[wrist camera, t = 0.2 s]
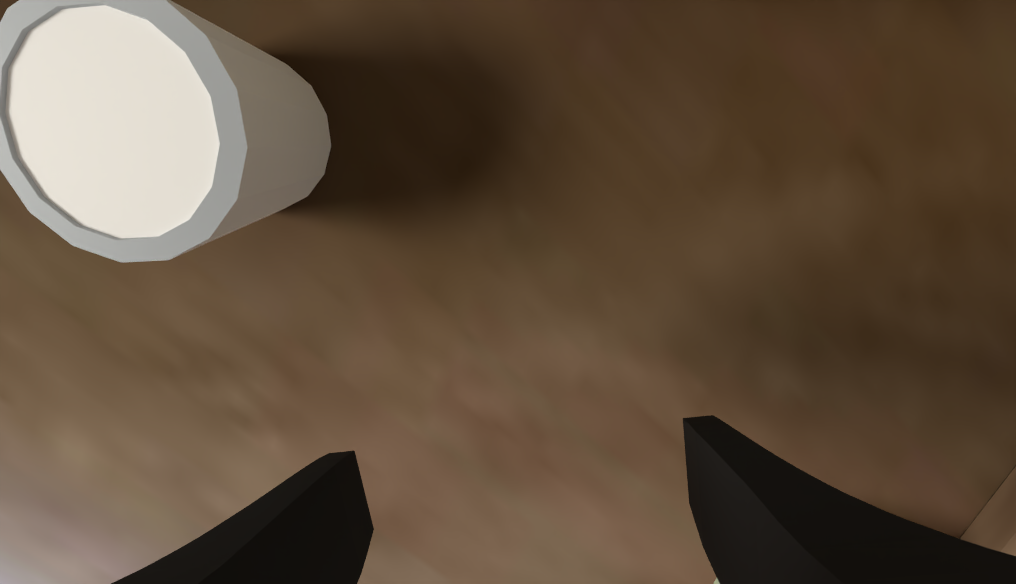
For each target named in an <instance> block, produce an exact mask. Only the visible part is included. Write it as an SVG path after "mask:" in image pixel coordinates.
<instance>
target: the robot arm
mask: <svg viewBox="0 0 1016 584" xmlns="http://www.w3.org/2000/svg"><path fill="white" fill-rule="evenodd" d="M683 427H684V440H685V453H686V466H687V479H688V492H689V504H690V507H691V510H692V513H693V517H694V520H695V523H696V526H697V529H698V532H699V536H700V539H701V542H702V545H703V548H704V550H705V552H706V554H707V557H708V559H709V561H710V563H711V566H712V568H713V570H714V572H715V574H716V577H717V579H718V581H719V583H720V584H1016V556H1013V555H1010V554H1007V553H1003V552H1000V551H996V550H993V549H989V548H986V547H983V546H980V545H977V544H974V543H971V542H968V541H965V540H961V539H958V538H955V537H952V536H950V535H947V534H944V533H941V532H939V531H936V530H933V529H930V528H928V527H925V526H922V525H919V524H917V523H914V522H911V521H909V520H906V519H903V518H901V517H899V516H896V515H894V514H891V513H889V512H886V511H884V510H881V509H879V508H877V507H875V506H873V505H870V504H868V503H866V502H864V501H861V500H859V499H857V498H855V497H852V496H850V495H848V494H846V493H844V492H842V491H840V490H838V489H836V488H834V487H832V486H830V485H828V484H826V483H824V482H822V481H820V480H818V479H817V478H815V477H813V476H811V475H809V474H807V473H805V472H804V471H802V470H800V469H798V468H796V467H795V466H793V465H791V464H790V463H788V462H786V461H784V460H783V459H781V458H779V457H778V456H776V455H774V454H773V453H771V452H770V451H768V450H766V449H765V448H763V447H762V446H760V445H758V444H757V443H755V442H754V441H752V440H751V439H749V438H748V437H746V436H745V435H743V434H741V433H740V432H738V431H737V430H735V429H734V428H732V427H731V426H729V425H728V424H726V423H725V422H723V421H722V420H720V419H718V418H717V417H715V416H713V415H711V416H701V417H691V418H683ZM373 530H374V528H373V524H372V520H371V516H370V512H369V508H368V504H367V500H366V496H365V492H364V488H363V484H362V480H361V476H360V472H359V467H358V463H357V459H356V455H355V451H347V452H337V453H328V454H326V455H325V456H323V457H321V458H319V459H317V460H316V461H314V462H312V463H311V464H309V465H308V466H306V467H305V468H303V469H302V470H300V471H299V472H297V473H296V474H294V475H293V476H291V477H290V478H288V479H287V480H285V481H284V482H282V483H281V484H280V485H278V486H277V487H275V488H274V489H272V490H271V491H269V492H268V493H266V494H265V495H263V496H262V497H261V498H259V499H258V500H256V501H255V502H253V503H252V504H250V505H249V506H247V507H246V508H244V509H243V510H241V511H239V512H238V513H236V514H235V515H233V516H232V517H230V518H229V519H227V520H225V521H224V522H222V523H221V524H219V525H218V526H216V527H214V528H213V529H211V530H210V531H208V532H207V533H205V534H203V535H202V536H200V537H198V538H197V539H195V540H193V541H192V542H190V543H188V544H187V545H185V546H183V547H181V548H180V549H178V550H176V551H174V552H172V553H171V554H169V555H167V556H165V557H163V558H161V559H160V560H158V561H156V562H154V563H152V564H150V565H148V566H146V567H145V568H143V569H141V570H139V571H137V572H135V573H132V574H130V575H128V576H126V577H124V578H122V579H120V580H118V581H116V582H114V583H112V584H357V582H358V580H359V577H360V575H361V572H362V569H363V566H364V562H365V559H366V556H367V552H368V549H369V545H370V541H371V537H372V533H373Z"/></svg>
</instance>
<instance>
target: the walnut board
mask: <svg viewBox="0 0 1016 584" xmlns="http://www.w3.org/2000/svg"><path fill="white" fill-rule="evenodd" d="M960 539H961V540H965V541H968V542H971V543H974V544H977V545H980V546H983V547H986V548H989V549H993V550H996V551H1000V552H1003V553H1007V554H1010V555H1013V556H1016V467H1015V468H1014V469H1013V470H1012V472H1011V473H1010V474H1009V476H1008V477H1007V478H1006V479H1005V481H1004V482H1003V483H1002V485H1001V486H1000V487H999V489H998V490H997V491H996V492H995V494H994V495H993V496H992V498H991V499H990V500H989V502H988V503H987V504H986V505H985V507H984V508H983V509H982V511H981V512H980V513H979V515H978V516H977V517H976V518H975V520H974V521H973V522H972V524H971V525H970V526H969V527H968V529H967V530H966V531H965V533H964V534H963V535H962V537H961V538H960Z"/></svg>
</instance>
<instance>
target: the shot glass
mask: <svg viewBox="0 0 1016 584" xmlns="http://www.w3.org/2000/svg"><path fill="white" fill-rule="evenodd" d="M330 149H331V140H330V133H329V126H328V119H327V114H326V112H325V110H324V108H323V106H322V105H321V103H320V101H319V99H318V97H317V95H316V93H315V92H314V90H313V88H312V86H311V85H310V84H309V83H308V82H307V81H305V80H304V79H303V78H302V77H301V76H300V75H299V74H297V73H296V72H295V71H294V70H293V69H292V68H291V67H290V66H288V65H287V64H285V63H284V62H282V61H280V60H278V59H276V58H275V57H273V56H271V55H269V54H267V53H265V52H264V51H262V50H260V49H258V48H256V47H254V46H253V45H251V44H249V43H247V42H245V41H243V40H242V39H240V38H238V37H236V36H234V35H233V34H231V33H229V32H227V31H225V30H223V29H222V28H220V27H218V26H216V25H214V24H212V23H211V22H209V21H207V20H205V19H203V18H201V17H200V16H198V15H196V14H194V13H192V12H191V11H189V10H187V9H185V8H183V7H181V6H180V5H178V4H176V3H174V2H172V1H170V0H19V1H18V2H16V3H15V4H13V5H12V6H10V7H9V8H8V9H7V11H6V12H5V14H4V16H3V18H2V20H1V22H0V170H1V171H2V173H3V174H4V176H5V177H6V179H7V180H8V181H9V183H10V184H11V186H12V187H13V189H14V190H15V192H16V193H17V195H18V196H19V197H20V199H21V200H22V202H23V203H24V205H25V206H26V208H27V209H28V211H29V212H30V213H32V214H33V215H34V216H35V217H37V218H38V219H39V220H40V221H42V222H43V223H44V224H46V225H47V226H48V227H49V228H51V229H52V230H53V231H55V232H56V233H57V234H58V235H60V236H61V237H62V238H63V239H65V240H66V241H67V242H69V243H70V244H71V245H72V246H75V247H78V248H81V249H84V250H87V251H90V252H92V253H95V254H98V255H101V256H104V257H107V258H110V259H113V260H116V261H118V262H139V261H159V260H170V259H172V258H174V257H177V256H179V255H181V254H183V253H186V252H188V251H190V250H192V249H195V248H197V247H199V246H201V245H204V244H206V243H208V242H210V241H213V240H215V239H217V238H219V237H222V236H224V235H226V234H229V233H231V232H233V231H235V230H238V229H240V228H242V227H244V226H247V225H249V224H251V223H253V222H256V221H258V220H260V219H262V218H265V217H267V216H269V215H271V214H274V213H276V212H278V211H280V210H283V209H285V208H287V207H288V206H290V205H292V204H294V203H296V202H298V201H300V200H302V199H304V198H306V197H307V196H308V195H309V194H310V193H311V191H312V190H313V189H314V187H315V186H316V185H317V183H318V182H319V181H320V179H321V178H322V177H323V175H324V174H325V170H326V166H327V161H328V157H329V153H330Z"/></svg>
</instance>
